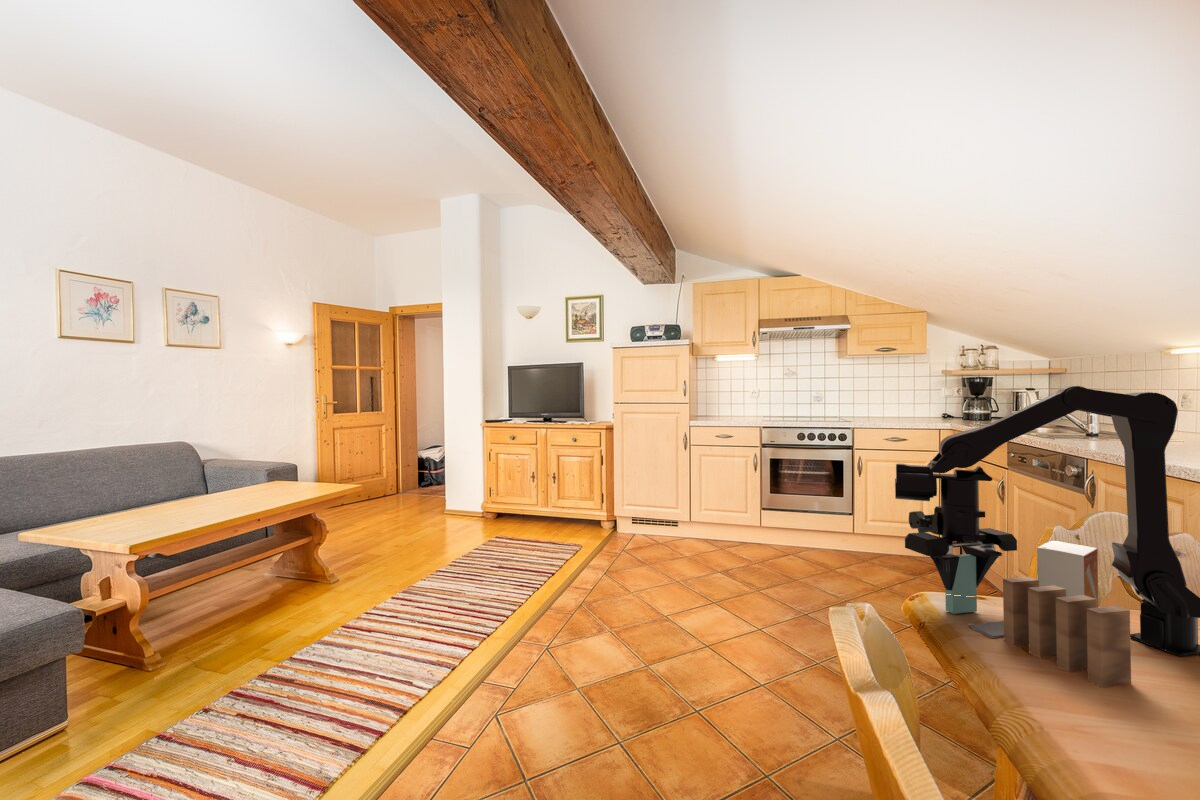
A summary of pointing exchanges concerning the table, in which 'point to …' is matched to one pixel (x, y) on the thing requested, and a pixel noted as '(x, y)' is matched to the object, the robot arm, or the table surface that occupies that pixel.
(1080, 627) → the domino
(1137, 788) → the table surface
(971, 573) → the domino
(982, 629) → the end pad
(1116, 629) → the domino
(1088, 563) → the small box
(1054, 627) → the domino
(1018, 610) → the domino
